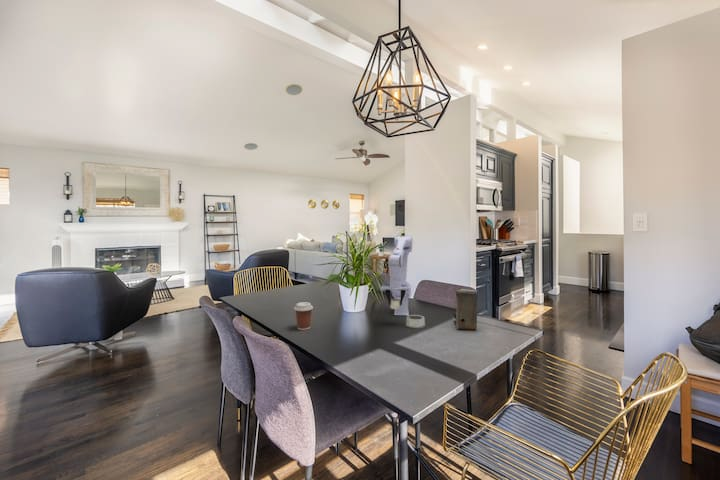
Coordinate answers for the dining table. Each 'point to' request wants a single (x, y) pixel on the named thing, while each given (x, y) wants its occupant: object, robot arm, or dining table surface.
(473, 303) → the vintage camera
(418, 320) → the lens barrel
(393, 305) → the beige short cylinder
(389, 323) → the dining table surface
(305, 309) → the coffee cup
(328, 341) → the dining table surface
